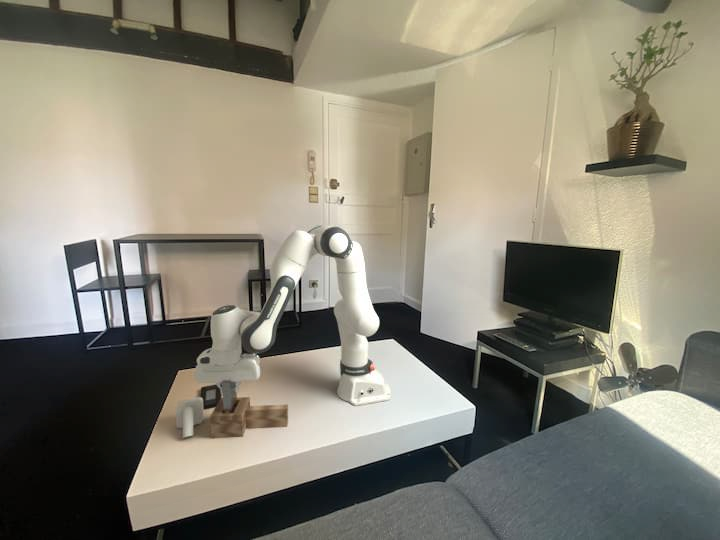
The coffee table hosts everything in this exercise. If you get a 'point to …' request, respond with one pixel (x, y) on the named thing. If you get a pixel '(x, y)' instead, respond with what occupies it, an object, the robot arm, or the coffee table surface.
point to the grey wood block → (228, 394)
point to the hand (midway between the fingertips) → (229, 392)
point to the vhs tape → (210, 396)
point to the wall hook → (189, 414)
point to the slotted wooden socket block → (246, 418)
